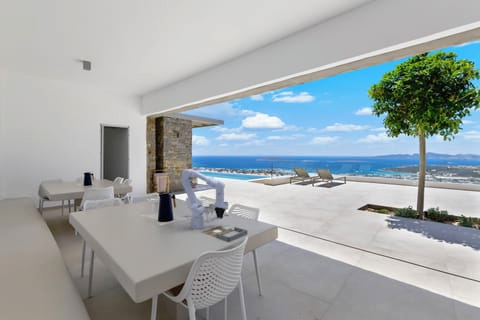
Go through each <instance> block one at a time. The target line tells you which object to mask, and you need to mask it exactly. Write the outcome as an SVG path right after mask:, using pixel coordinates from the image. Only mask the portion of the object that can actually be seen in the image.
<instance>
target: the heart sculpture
mask: <svg viewBox="0 0 480 320" xmlns="http://www.w3.org/2000/svg"><path fill="white" fill-rule="evenodd" d="M196 197H197V200H198V202H199V203H201V205H202V206H203V199H202V197H200V196H199V197H198V196H196ZM185 205H186V208H187V209H188V210H189V211H190V212H191V213H192V209H191V207H192V205H191V202H190V200H189V198H188V197H186V198H185ZM191 217H192V216H188V217H187V219H190V220H191Z"/></svg>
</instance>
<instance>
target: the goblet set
mask: <svg viewBox="0 0 480 320" xmlns="http://www.w3.org/2000/svg"><path fill="white" fill-rule="evenodd" d="M212 204H213V203H209V204H208V206H203V207H204V209H205V211H204V214H205V216H206V218H208V215H209V214H211V215H213V214H214V212H215V210H214V208H215V207H212ZM214 204H216V202H214ZM224 205H225V206H227V207H228V208H229V202H228V201H224ZM226 211H227V210H225V212H224V213H226ZM224 215H225V216H226V215H227V214H224ZM216 219H217V220H219V219H220V218H217V215H216V217H215V218H214V219H209V221H208V220H206V221H203V224H205V223H206V224H208V223H210V222H215V220H216Z"/></svg>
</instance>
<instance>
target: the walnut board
mask: <svg viewBox="0 0 480 320" xmlns="http://www.w3.org/2000/svg"><path fill="white" fill-rule="evenodd" d="M223 227H224V226H221V225H218V226H216V227H213V228H209V229H207V230H203V231H201V233H202V234H205V235H208V236H210V237H212V238H213V237H214V238H216V235H214V234H213V231H215V230H221V231H222V228H223ZM232 232H235V231H234V229H232V228H231V231H229V232H225V231H222V234H221V235H224V236H225V235H226V234H230V233H232Z"/></svg>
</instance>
